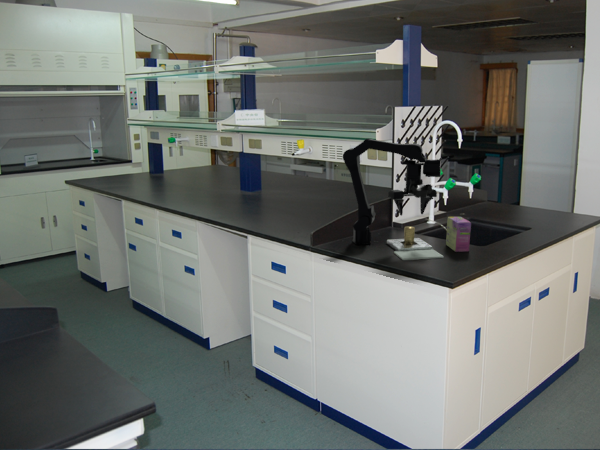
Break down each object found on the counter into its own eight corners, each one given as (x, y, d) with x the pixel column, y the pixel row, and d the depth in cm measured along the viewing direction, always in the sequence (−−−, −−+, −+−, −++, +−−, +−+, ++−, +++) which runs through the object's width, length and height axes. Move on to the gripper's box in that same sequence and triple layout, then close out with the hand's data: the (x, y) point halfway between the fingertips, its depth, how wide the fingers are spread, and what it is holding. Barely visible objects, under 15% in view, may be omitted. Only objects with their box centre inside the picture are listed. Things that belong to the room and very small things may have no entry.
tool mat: (402, 260, 192) (402, 258, 192) (393, 252, 202) (393, 251, 202) (443, 257, 195) (443, 256, 194) (432, 250, 204) (432, 249, 204)
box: (469, 251, 202) (471, 221, 200) (455, 252, 202) (456, 222, 199) (459, 244, 213) (461, 216, 210) (445, 245, 212) (447, 216, 209)
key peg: (405, 248, 208) (406, 228, 206) (402, 245, 212) (403, 226, 210) (415, 247, 209) (416, 228, 207) (411, 245, 213) (412, 226, 211)
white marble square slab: (398, 252, 203) (398, 248, 202) (386, 243, 216) (386, 239, 216) (432, 250, 205) (432, 246, 204) (418, 241, 218) (418, 237, 218)
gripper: (401, 179, 195) (399, 220, 199) (445, 178, 200) (442, 217, 204) (388, 176, 206) (386, 214, 209) (430, 174, 211) (428, 211, 214)
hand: (411, 214), depth 209 cm, fingers open, 9 cm apart
